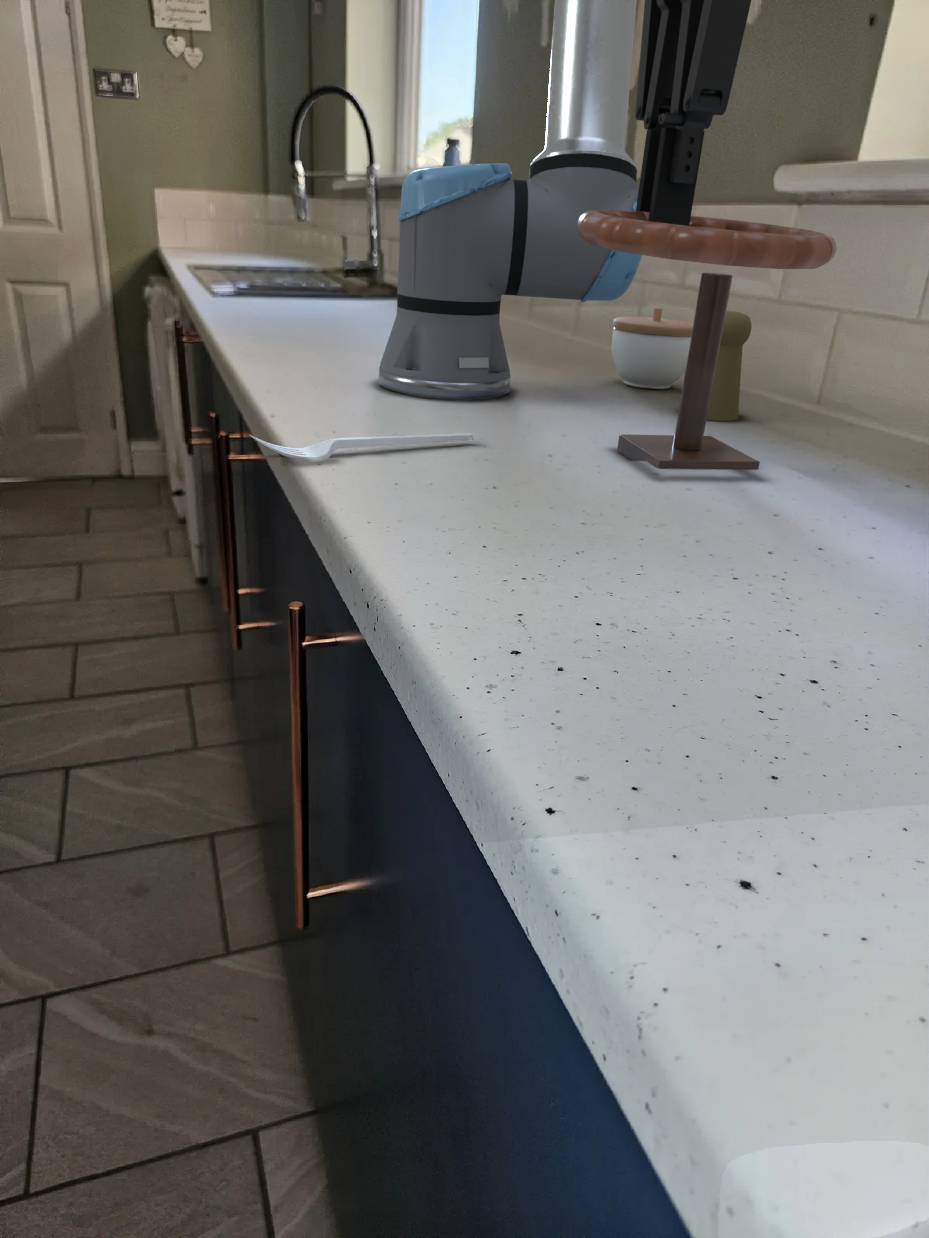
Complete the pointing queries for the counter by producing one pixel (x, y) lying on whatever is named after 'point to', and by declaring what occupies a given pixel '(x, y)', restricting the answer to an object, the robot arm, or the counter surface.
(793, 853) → the counter surface
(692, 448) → the rail post
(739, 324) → the olive pepper mill
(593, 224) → the ring
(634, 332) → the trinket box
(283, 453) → the fork
